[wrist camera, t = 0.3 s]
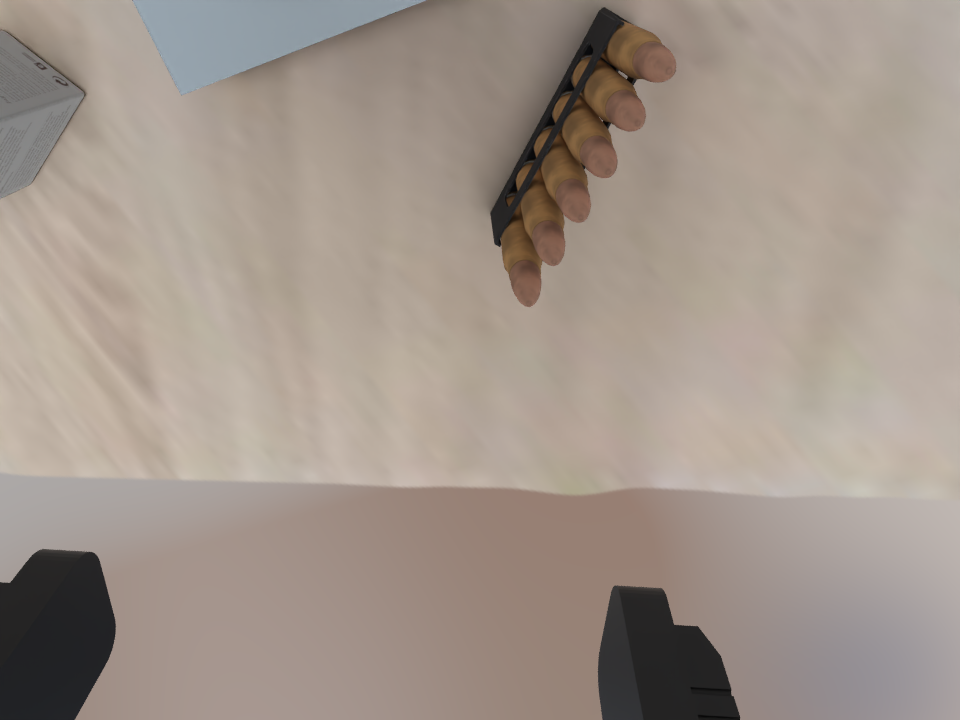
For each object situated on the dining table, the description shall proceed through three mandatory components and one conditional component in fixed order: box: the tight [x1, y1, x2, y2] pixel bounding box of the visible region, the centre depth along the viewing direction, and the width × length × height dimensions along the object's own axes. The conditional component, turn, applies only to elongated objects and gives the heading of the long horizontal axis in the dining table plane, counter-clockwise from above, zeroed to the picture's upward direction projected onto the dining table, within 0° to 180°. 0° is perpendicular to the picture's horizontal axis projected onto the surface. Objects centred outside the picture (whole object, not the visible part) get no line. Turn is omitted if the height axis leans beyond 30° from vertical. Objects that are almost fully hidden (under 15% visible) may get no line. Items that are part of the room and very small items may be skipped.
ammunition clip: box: [491, 8, 676, 307], centre depth 29 cm, size 11×2×12 cm, turn 153°
